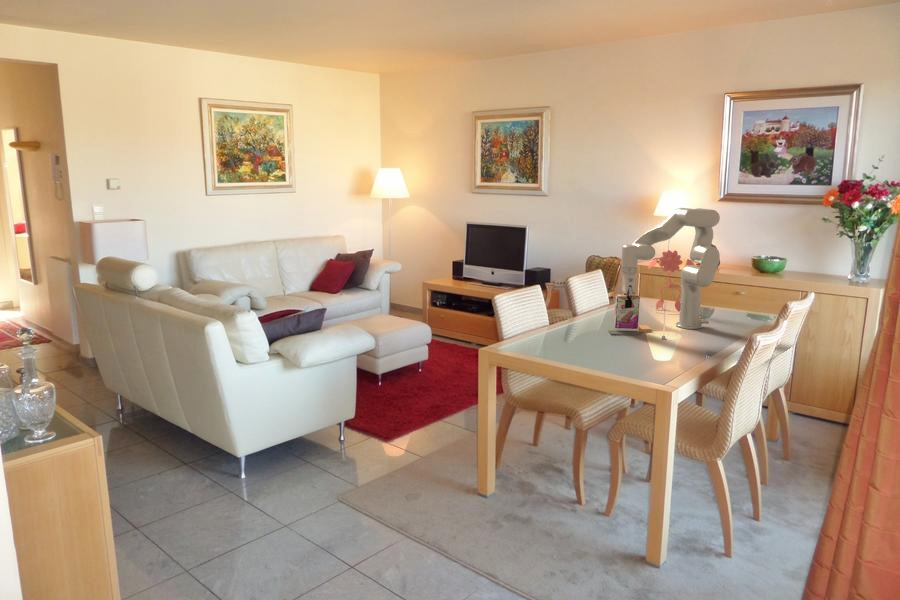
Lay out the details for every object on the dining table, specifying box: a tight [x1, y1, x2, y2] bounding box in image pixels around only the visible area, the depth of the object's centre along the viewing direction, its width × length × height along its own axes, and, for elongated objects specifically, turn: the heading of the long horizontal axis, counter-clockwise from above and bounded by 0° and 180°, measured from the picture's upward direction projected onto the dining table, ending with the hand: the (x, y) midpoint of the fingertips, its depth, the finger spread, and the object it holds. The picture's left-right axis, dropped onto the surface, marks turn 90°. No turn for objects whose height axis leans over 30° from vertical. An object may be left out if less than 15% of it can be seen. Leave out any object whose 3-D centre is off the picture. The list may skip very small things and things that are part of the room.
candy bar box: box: [613, 294, 641, 330], centre depth 326 cm, size 11×5×16 cm, turn 84°
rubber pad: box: [608, 329, 641, 336], centre depth 324 cm, size 14×7×1 cm, turn 87°
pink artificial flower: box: [647, 249, 695, 316], centre depth 368 cm, size 15×26×35 cm, turn 56°
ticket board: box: [636, 324, 652, 333], centre depth 330 cm, size 6×8×2 cm
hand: (627, 306), depth 325 cm, fingers closed on candy bar box, 5 cm apart
